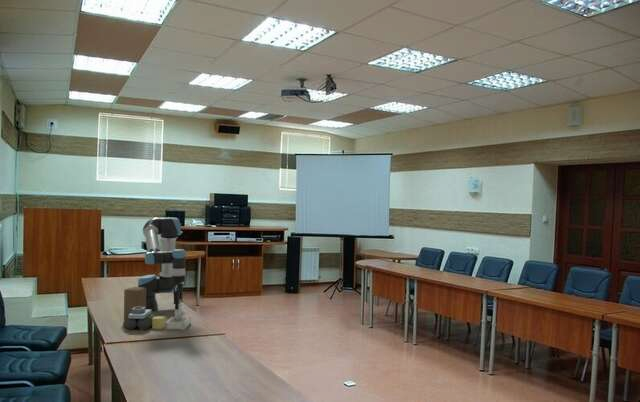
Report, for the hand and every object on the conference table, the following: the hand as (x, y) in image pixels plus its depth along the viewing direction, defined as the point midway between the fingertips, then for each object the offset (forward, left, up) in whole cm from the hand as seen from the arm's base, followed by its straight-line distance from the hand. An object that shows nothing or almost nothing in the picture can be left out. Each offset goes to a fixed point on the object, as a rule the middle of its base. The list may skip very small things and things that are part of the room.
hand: (178, 313), depth 287 cm
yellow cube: (+2, -11, -8) cm, 14 cm away
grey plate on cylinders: (+2, -22, -8) cm, 23 cm away
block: (-15, -31, -8) cm, 35 cm away
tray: (0, 0, -8) cm, 8 cm away
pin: (0, 0, -4) cm, 4 cm away
